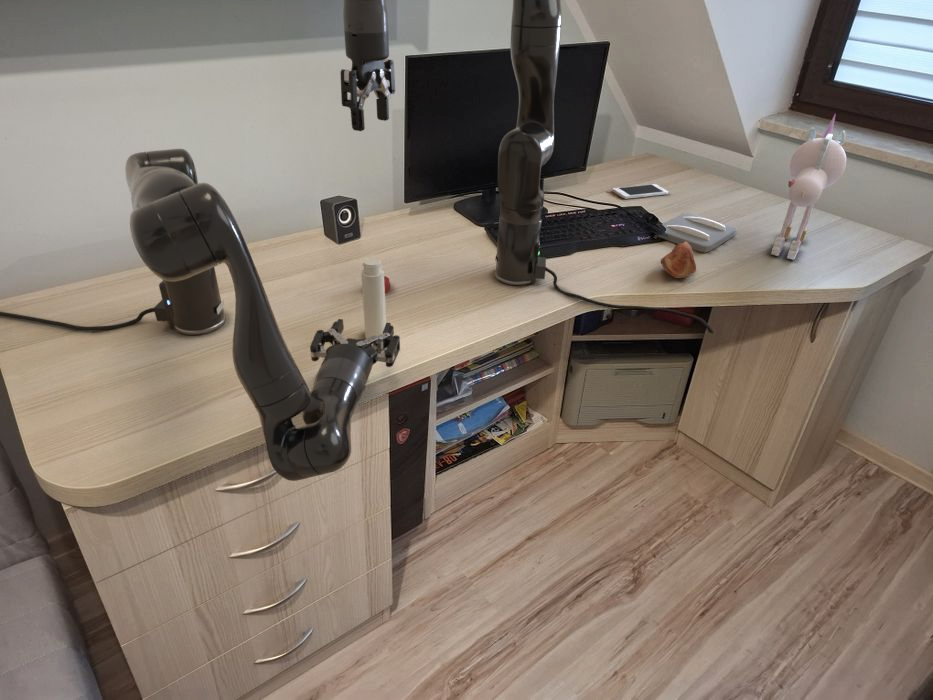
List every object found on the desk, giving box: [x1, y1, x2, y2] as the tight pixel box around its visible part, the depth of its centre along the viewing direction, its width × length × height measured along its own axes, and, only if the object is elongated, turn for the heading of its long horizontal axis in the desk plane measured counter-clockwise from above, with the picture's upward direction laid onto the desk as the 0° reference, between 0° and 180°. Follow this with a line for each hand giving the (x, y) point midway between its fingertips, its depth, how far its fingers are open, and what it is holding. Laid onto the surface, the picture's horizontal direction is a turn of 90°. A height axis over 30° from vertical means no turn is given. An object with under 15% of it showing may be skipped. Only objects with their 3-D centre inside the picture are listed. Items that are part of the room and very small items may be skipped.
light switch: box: [654, 212, 737, 253], centre depth 167 cm, size 18×3×15 cm
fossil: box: [660, 241, 697, 279], centre depth 147 cm, size 13×8×10 cm
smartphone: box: [611, 183, 669, 200], centre depth 193 cm, size 7×15×1 cm, turn 111°
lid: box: [384, 275, 391, 295], centre depth 137 cm, size 5×5×2 cm
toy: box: [770, 112, 847, 261], centre depth 159 cm, size 12×36×30 cm, turn 148°
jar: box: [360, 257, 387, 339], centre depth 118 cm, size 4×4×16 cm
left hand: (365, 325), depth 113 cm, fingers open, 8 cm apart
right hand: (371, 124), depth 118 cm, fingers open, 8 cm apart
